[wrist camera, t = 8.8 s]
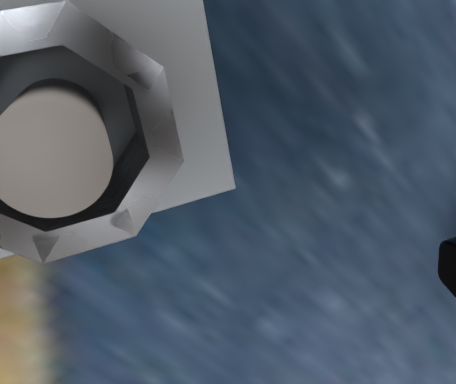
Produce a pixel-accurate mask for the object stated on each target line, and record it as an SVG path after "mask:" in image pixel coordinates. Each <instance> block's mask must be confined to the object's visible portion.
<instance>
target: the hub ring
mask: <svg viewBox="0 0 456 384" xmlns="http://www.w3.org/2000/svg"><path fill="white" fill-rule="evenodd" d="M59 45H64V46H65V47H67V48H69V49H70V50H72V51H73V52H75V53H76V54H78V55H80V56H81V57H83V58H84V59H86V60H87V61H89V62H91V63H92V64H94V65H95V66H97V67H99V68H100V69H102V70H103V71H105V72H106V73H108V74H110V75H111V76H113V77H114V78H116V79H117V80H119V81H121V82H122V83H123V84H124V88H125V92H126V96H127V99H128V103H129V107H130V111H131V115H132V119H133V122H134V126H135V130H136V132H135V133H134V135H133V137H132V138H131V140H130V142H129V143H128V145H127V146H126V148H125V150H124V151H123V153H122V155H121V156H120V158H119V159H118V161H117V163H116V164H115V166H114V168H113V170H112V175H111V178H110V181H109V184H108V186H107V187H106V189H105V191H104V192H103V194H102V195H101V196H100V197H99V198H98V199H97V200H96V201H95V202H94V203H93V204H92V205H90V206H89V207H87V208H86V209H84V210H82V211H80V212H78V213H75V214H72V215H69V216H65V217H58V218H42V217H36V216H31V215H28V214H25V213H22V212H20V211H18V210H16V209H14V208H12V207H10V206H9V205H7V204H6V203H5V202H3V201H2V200H1V199H0V248H1V249H4V250H7V251H9V252H12V253H15V254H17V255H20V256H23V257H26V258H28V259H31V260H34V261H36V262H39V263H42V264H45V263H48V262H51V261H55V260H58V259H61V258H65V257H68V256H71V255H75V254H78V253H81V252H85V251H88V250H91V249H95V248H98V247H101V246H105V245H108V244H111V243H115V242H118V241H121V240H125V239H128V238H131V237H135V236H136V235H137V234H138V232H139V231H140V229H141V228H142V226H143V225H144V223H145V221H146V220H147V218H148V217H149V215H150V214H151V212H152V211H153V209H154V207H155V206H156V204H157V203H158V201H159V200H160V198H161V197H162V195H163V193H164V192H165V190H166V189H167V187H168V186H169V184H170V183H171V181H172V179H173V178H174V176H175V175H176V173H177V172H178V170H179V169H180V167H181V165H182V164H183V162H184V158H183V154H182V149H181V145H180V140H179V135H178V131H177V126H176V122H175V117H174V112H173V108H172V103H171V99H170V94H169V89H168V85H167V80H166V75H165V71H164V67H163V66H161V65H160V64H158V63H157V62H156V61H154V60H153V59H151V58H150V57H148V56H147V55H145V54H144V53H142V52H141V51H140V50H138V49H137V48H135V47H134V46H132V45H131V44H129V43H128V42H127V41H125V40H124V39H122V38H121V37H119V36H118V35H116V34H115V33H113V32H112V31H111V30H109V29H108V28H106V27H105V26H103V25H102V24H100V23H99V22H98V21H96V20H95V19H93V18H92V17H90V16H89V15H87V14H86V13H84V12H83V11H82V10H80V9H79V8H77V7H76V6H74V5H73V4H71V3H70V2H68V1H67V0H65V1H59V2H53V3H47V4H40V5H34V6H28V7H21V8H15V9H9V10H2V11H0V56H4V55H10V54H15V53H21V52H26V51H32V50H37V49H43V48H48V47H54V46H59Z"/></svg>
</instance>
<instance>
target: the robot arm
mask: <svg viewBox="0 0 456 384" xmlns="http://www.w3.org/2000/svg"><path fill="white" fill-rule="evenodd" d="M438 275H439V277H440V279H441V281H442V283H443V284H444V285H445V286H446V287H447V288H448V289H449V291H450V292H451V293H452V294H453V295H454V296H455V297H456V237H453V238H450V239H447V240H444V241H443V242H441V244H440V246H439V259H438Z"/></svg>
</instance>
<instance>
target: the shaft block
mask: <svg viewBox="0 0 456 384" xmlns="http://www.w3.org/2000/svg"><path fill="white" fill-rule="evenodd" d="M59 1H65V0H0V11H2V10H9V9H15V8H21V7H28V6H34V5H40V4H47V3H53V2H59ZM67 1H68V2H70V3H71V4H73V5H74V6H76V7H77V8H79V9H80V10H82V11H83V12H84V13H86V14H87V15H89V16H90V17H92V18H93V19H95V20H96V21H98V22H99V23H100V24H102V25H103V26H105V27H106V28H108V29H109V30H111V31H112V32H113V33H115V34H116V35H118V36H119V37H121V38H122V39H124V40H125V41H127V42H128V43H129V44H131V45H132V46H134V47H135V48H137V49H138V50H140V51H141V52H142V53H144V54H145V55H147V56H148V57H150V58H151V59H153V60H154V61H156V62H157V63H158V64H160V65H161V66H163V67H164V71H165V75H166V80H167V85H168V89H169V94H170V99H171V103H172V108H173V112H174V117H175V122H176V126H177V131H178V135H179V140H180V145H181V149H182V154H183V158H184V162H183V164H182V165H181V167H180V169H179V170H178V172H177V173H176V175H175V176H174V178H173V179H172V181H171V183H170V184H169V186H168V187H167V189H166V190H165V192H164V193H163V195H162V197H161V198H160V200H159V201H158V203H157V204H156V206H155V207H154V209H153V211H152V212H151V213H155V212H158V211H161V210H165V209H168V208H171V207H175V206H178V205H182V204H185V203H188V202H192V201H195V200H198V199H202V198H205V197H208V196H212V195H215V194H218V193H222V192H225V191H229V190H232V189H235V182H234V177H233V171H232V165H231V159H230V154H229V148H228V142H227V136H226V131H225V125H224V119H223V114H222V108H221V102H220V96H219V91H218V85H217V79H216V73H215V68H214V62H213V56H212V51H211V45H210V39H209V33H208V28H207V22H206V16H205V10H204V5H203V0H67ZM135 132H136V130H135V126H134V122H133V119H132V115H131V111H130V107H129V103H128V99H127V96H126V92H125V88H124V84H123V83H122V82H121V81H119V80H117V79H116V78H114V77H113V76H111V75H110V74H108V73H106V72H105V71H103V70H102V69H100V68H99V67H97V66H95V65H94V64H92V63H91V62H89V61H87V60H86V59H84V58H83V57H81V56H80V55H78V54H76V53H75V52H73V51H72V50H70V49H69V48H67V47H65V46H64V45H59V46H54V47H48V48H43V49H37V50H32V51H26V52H21V53H15V54H10V55H4V56H0V199H1V200H2V201H3V202H5V203H6V204H7V205H9V206H10V207H12V208H14V209H16V210H18V211H20V212H22V213H25V214H28V215H31V216H36V217H42V218H58V217H65V216H69V215H72V214H75V213H78V212H80V211H82V210H84V209H86V208H87V207H89V206H90V205H92V204H93V203H94V202H95V201H96V200H97V199H98V198H99V197H100V196H101V195H102V194H103V192H104V191H105V189H106V187H107V186H108V184H109V181H110V178H111V175H112V170H113V168H114V166H115V164H116V163H117V161H118V159H119V158H120V156H121V155H122V153H123V151H124V150H125V148H126V146H127V145H128V143H129V142H130V140H131V138H132V137H133V135H134V133H135ZM14 254H15V253H12V252H9V251H7V250H4V249H1V248H0V258H4V257H7V256H10V255H14Z"/></svg>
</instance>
